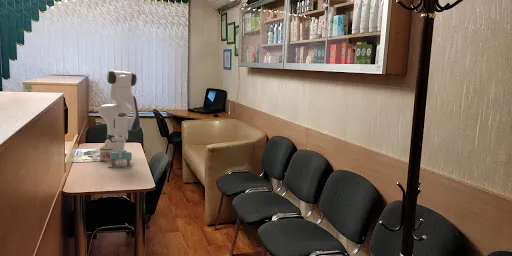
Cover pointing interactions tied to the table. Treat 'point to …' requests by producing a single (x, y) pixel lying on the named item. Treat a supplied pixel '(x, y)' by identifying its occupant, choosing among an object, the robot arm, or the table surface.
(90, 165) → the table surface
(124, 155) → the frame bar
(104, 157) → the teacup with lid
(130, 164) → the display stand
